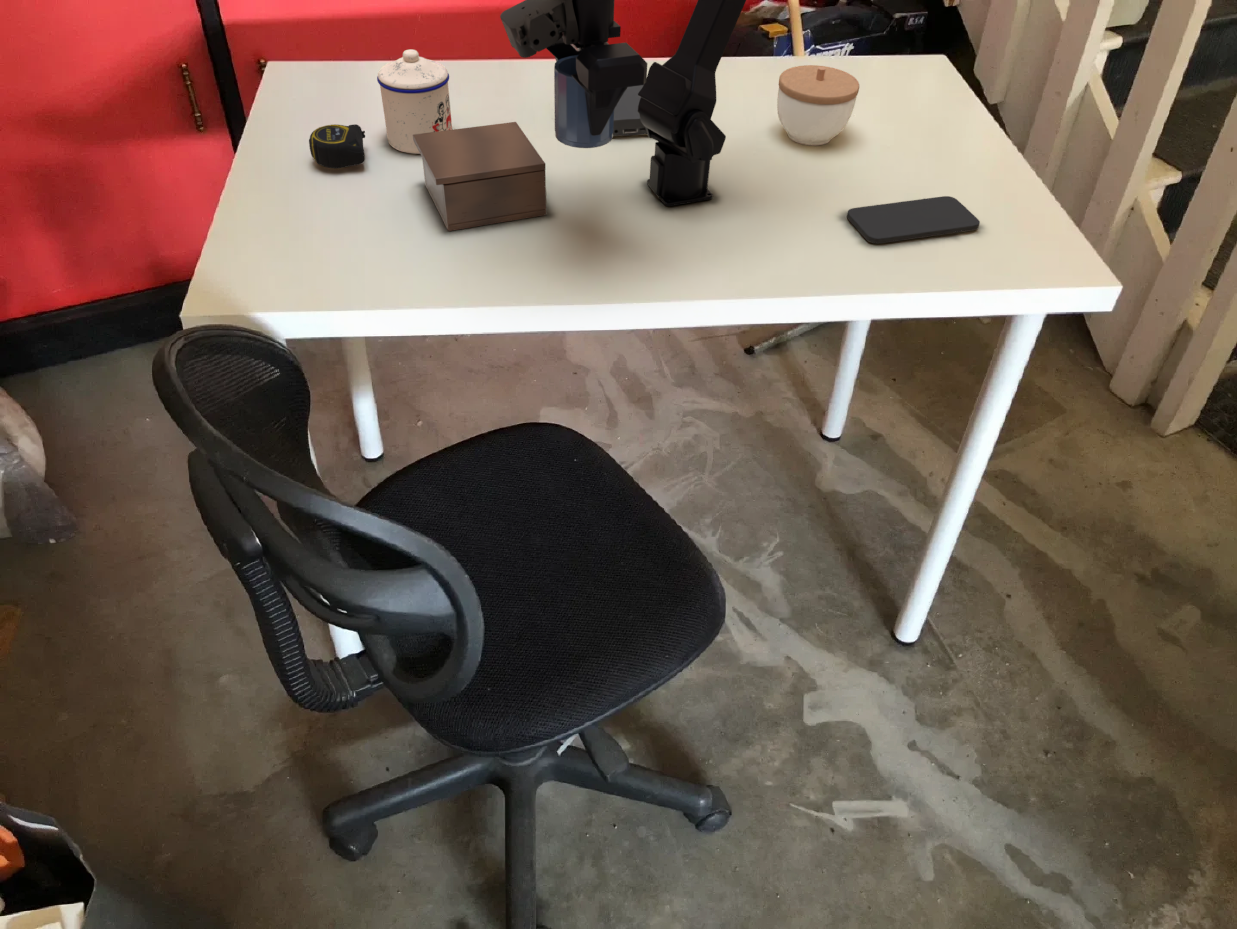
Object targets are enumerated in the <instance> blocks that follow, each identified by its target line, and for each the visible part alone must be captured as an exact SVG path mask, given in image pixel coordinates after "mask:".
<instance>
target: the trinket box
mask: <svg viewBox="0 0 1237 929" xmlns="http://www.w3.org/2000/svg"><path fill="white" fill-rule="evenodd" d="M777 91H778V92H777V99H776V101H777V102H776V108H777V110H776V111H777V115H778V119H779V122H780V124H781V126H782V128H783V130H784V131H785V132H786V133H787V136H788V138H789V139H790V140H791V141H793V142H795V143H797V144H800V145H805V146H815V147H816V146H823V145H826V144H828V143H830V142H831V140H832V139H834V138H835V137H837V135H839V134H840V133H842V131H843V130H844V129H845V128H846V126H847V125H848V123H849V121H850V119H851V117H852V114H853V111H854V108H855V106H856V102H857V101H856V100H857V96H858V94H859V92H860V83H859V80H858V79H857V78H856V77H855V76H854V75H852V74H850V73H849V72H846V71H844V70H841V69H838V68H835V67H830V66H826V65H818V64H817V65H815V64H809V65H808V64H806V65H797V66H792V67H790V68H787V69H785V70H783V71H782V72H781V74H780V75H779V78H778V90H777Z"/></svg>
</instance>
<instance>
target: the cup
mask: <svg viewBox="0 0 1237 929" xmlns="http://www.w3.org/2000/svg"><path fill="white" fill-rule="evenodd" d="M577 56H578V55H574V56H568V57H565V58H562V59H559V60H558V61H557V62H556V61H555V62H554V67H553V72H554V73H553V77H554V78H553V80H554V82H553V83H554V85H553V86H554V93H553V94H554V97H553V98H554V136H555V138H556V140H557V141H558V142H560V143H561V144H563V145H565V146H568V147H572V148H578V149H593V148H594V149H595V148H599V147H603V146H605V145H608V144H609V143H610V142H611V141H613V138H614V136H613V125H614V111H613V113H612V114H611V116H610V118H609V120H608V122H607V124H606V126H605V128H604V129H603V131H602V133H601V134H600V135H596V136H592V135H591V134H590V128H589V122H588V114H587V105H586V97H585V90H584V88H582V87H581V86H580V85H579V84H578V83H577V81H576V80H575V79H574V78H573V77H572V75H573V74H577V70H576V57H577Z"/></svg>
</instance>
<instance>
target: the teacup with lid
mask: <svg viewBox="0 0 1237 929" xmlns="http://www.w3.org/2000/svg"><path fill="white" fill-rule="evenodd" d="M376 80H377V83H378V85H379V87H380V95H381V104H382V108H383V115H384V123H385V130H386V137H387V142H388V144H389V145H390V146H391V147H392V148H394V149H395V150H397V151H399V152H402V153H406V154H412V155H413V154H414V155H421V154H420V152H419V151H418V149H417V147H416V145H415V143H414V141H413V135H414V134H422V133H430V132H438V131H446V130H453V123H452V111H451V99H450V91H449V80H450V74H449V72H448V69H447V68H446V66H444V65H443V64H442V63H440V62H438V61H435V60H432V59H428V58H426V57H423V56H420V53H419V51H418V50H416V49H412V48H411V49H406V50H404V51H403V52H402V57H399V58H398V59H396V60H393V61H390V62H388V63H386V64H384V65H383V66H381V67H380V69H379V70H378V72H377V76H376Z"/></svg>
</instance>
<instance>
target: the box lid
mask: <svg viewBox="0 0 1237 929" xmlns="http://www.w3.org/2000/svg"><path fill="white" fill-rule="evenodd" d="M413 141H414V143H415V145H416V147H417V149H418V151H419V152H420V154H419V155H420V156H421V159H422V158H423V160H424V162H425V164H426V166H427V168H428V170H429V172H430V174H431V176H432V178H433V180H434V182H435V184H436V185H442V184H449V183H456V182H463V181H470V180H477V179H484V178H491V177H498V176H505V175H512V174H519V173H526V172H533V171H540V170H545V171H546V163H545V161H544V160H543V158H542V156H541V155H540V154H539V152H538V151H537V150H536V148H535V147H534V145H533V144H532V142H531V141H530V140H529V138H528V137H527V135H526V134H525V133H524V131H523V130H522V128H521V127H520V126H519V124H518V123H517V121H510V122H503V123H493V124H487V125H479V126H471V127H470V126H469V127H463V128H455V129H454V128H453V129H452V130H446V131H438V132H430V133H422V134H414V135H413Z"/></svg>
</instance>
